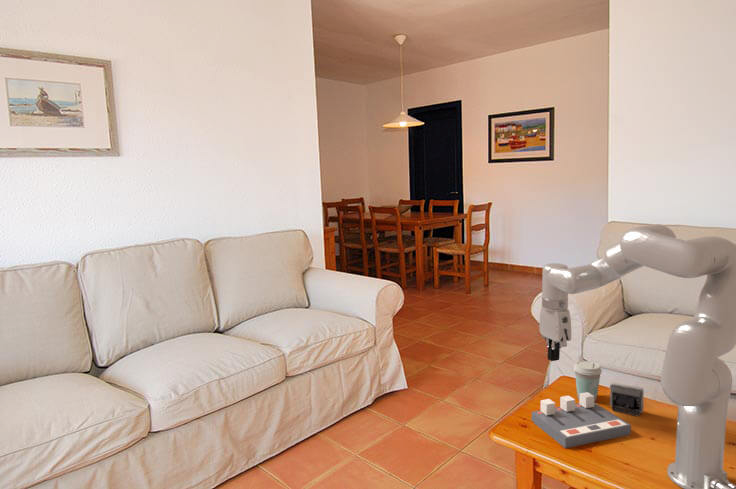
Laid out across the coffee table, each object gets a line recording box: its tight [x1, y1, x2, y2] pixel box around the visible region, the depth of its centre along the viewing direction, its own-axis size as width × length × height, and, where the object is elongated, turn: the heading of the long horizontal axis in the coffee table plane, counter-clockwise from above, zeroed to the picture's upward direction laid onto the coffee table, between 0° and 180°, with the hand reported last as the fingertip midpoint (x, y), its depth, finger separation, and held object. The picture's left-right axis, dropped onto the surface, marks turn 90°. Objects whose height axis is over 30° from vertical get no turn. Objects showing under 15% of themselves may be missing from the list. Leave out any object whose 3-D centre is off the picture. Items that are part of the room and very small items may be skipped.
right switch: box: [578, 392, 595, 408], centre depth 150 cm, size 3×3×4 cm
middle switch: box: [559, 395, 576, 412], centre depth 148 cm, size 3×3×4 cm
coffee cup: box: [573, 360, 603, 403], centre depth 161 cm, size 8×8×12 cm
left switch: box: [540, 398, 556, 416], centre depth 146 cm, size 3×3×4 cm
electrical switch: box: [609, 382, 645, 417], centre depth 151 cm, size 9×5×9 cm, turn 57°
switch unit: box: [531, 402, 632, 449], centre depth 143 cm, size 16×22×3 cm
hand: (553, 359), depth 151 cm, fingers closed
